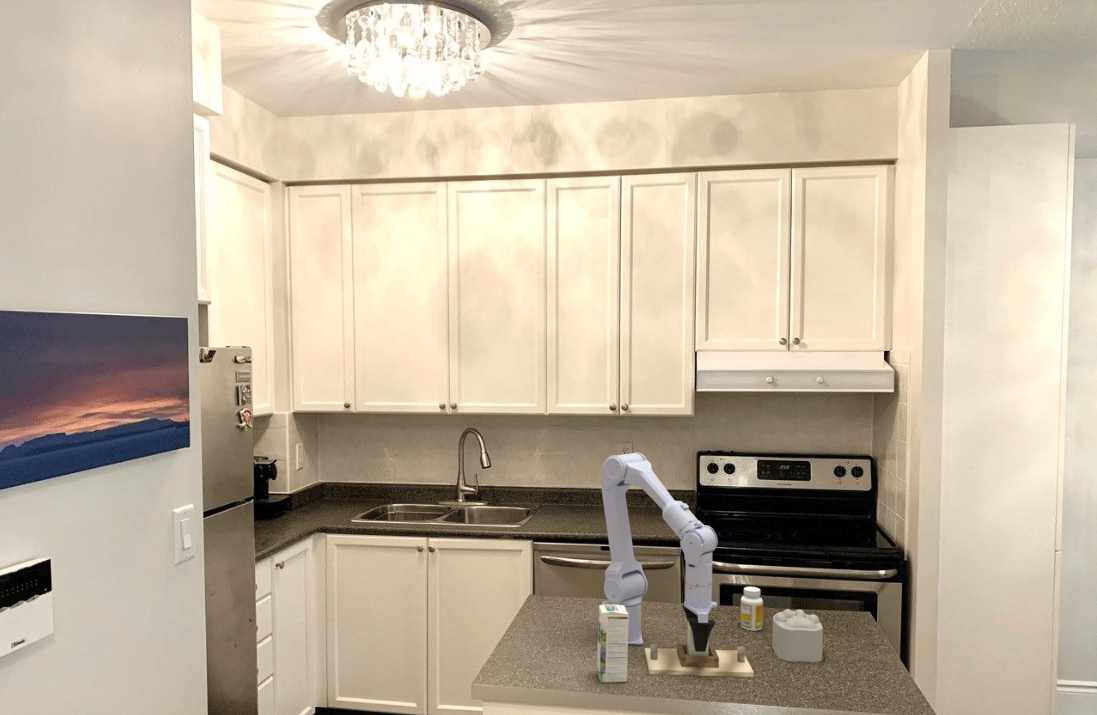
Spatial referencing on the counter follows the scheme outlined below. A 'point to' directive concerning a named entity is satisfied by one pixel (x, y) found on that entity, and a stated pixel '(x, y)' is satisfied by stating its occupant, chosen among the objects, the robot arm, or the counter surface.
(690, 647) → the sage peg
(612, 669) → the syrup box
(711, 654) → the socket plate
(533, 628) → the counter surface
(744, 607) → the supplement bottle
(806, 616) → the lumpy-topped squat cylinder
